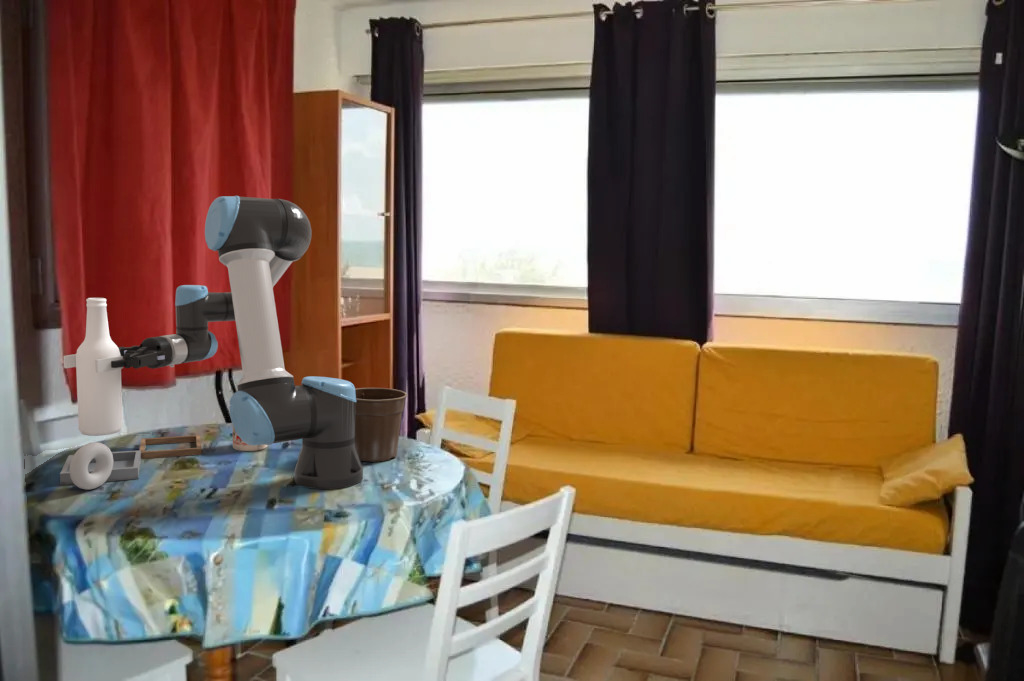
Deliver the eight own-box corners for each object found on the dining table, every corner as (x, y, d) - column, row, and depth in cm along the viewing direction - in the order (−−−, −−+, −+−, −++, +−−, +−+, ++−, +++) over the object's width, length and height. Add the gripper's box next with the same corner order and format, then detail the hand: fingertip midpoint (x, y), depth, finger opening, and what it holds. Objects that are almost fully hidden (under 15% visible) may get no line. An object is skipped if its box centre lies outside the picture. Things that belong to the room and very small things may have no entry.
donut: (79, 496, 159) (77, 449, 158) (66, 494, 160) (64, 447, 159) (118, 483, 168) (116, 438, 167) (105, 481, 169) (104, 436, 168)
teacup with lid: (224, 450, 196) (224, 405, 195) (243, 441, 205) (243, 398, 204) (268, 454, 194) (268, 408, 193) (285, 445, 203) (285, 401, 202)
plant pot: (393, 445, 207) (394, 385, 205) (415, 460, 193) (416, 397, 191) (333, 450, 199) (333, 389, 197) (351, 467, 185) (351, 401, 183)
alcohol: (69, 434, 171) (63, 299, 167) (96, 425, 180) (91, 296, 175) (106, 437, 170) (101, 301, 166) (131, 428, 178) (127, 297, 174)
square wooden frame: (201, 454, 192) (201, 448, 192) (139, 458, 186) (138, 452, 186) (200, 440, 205) (200, 434, 205) (141, 444, 199) (141, 438, 199)
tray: (138, 478, 172) (137, 467, 171) (60, 485, 166) (59, 473, 165) (141, 460, 185) (140, 450, 185) (69, 465, 179) (68, 455, 179)
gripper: (197, 370, 186) (117, 386, 165) (129, 362, 193) (46, 376, 173) (196, 339, 185) (116, 351, 164) (129, 332, 192) (44, 342, 172)
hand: (80, 364), depth 168 cm, fingers closed on alcohol, 9 cm apart
